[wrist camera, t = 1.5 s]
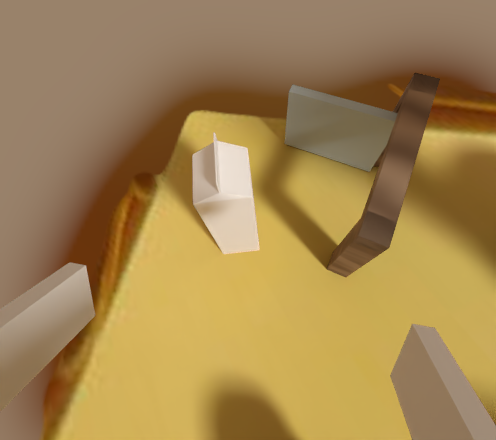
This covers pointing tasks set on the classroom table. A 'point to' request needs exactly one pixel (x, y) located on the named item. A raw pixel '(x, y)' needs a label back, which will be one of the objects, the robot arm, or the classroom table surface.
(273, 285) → the classroom table surface
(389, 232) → the door frame
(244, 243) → the milk
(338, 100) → the door
